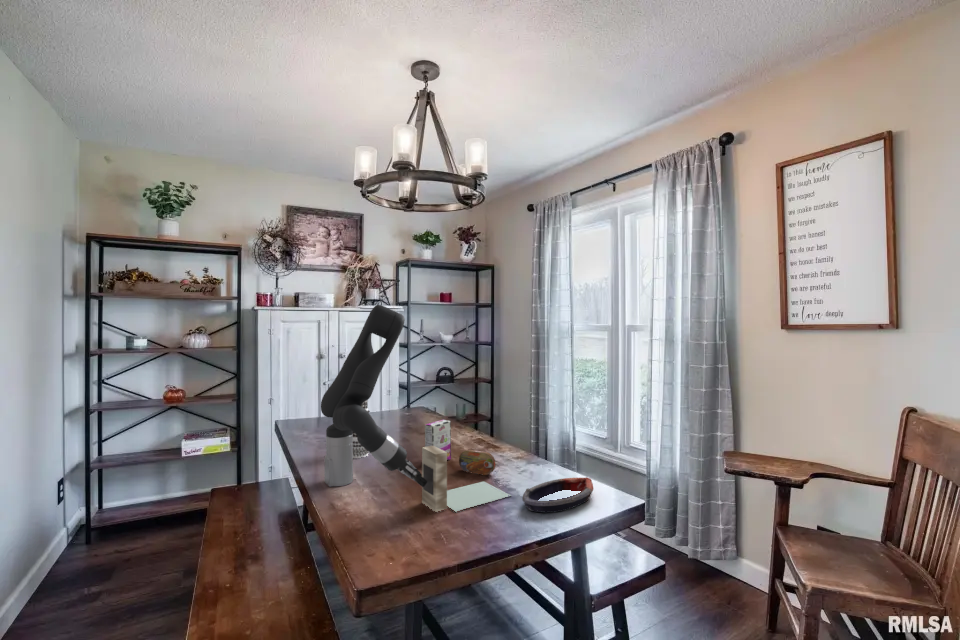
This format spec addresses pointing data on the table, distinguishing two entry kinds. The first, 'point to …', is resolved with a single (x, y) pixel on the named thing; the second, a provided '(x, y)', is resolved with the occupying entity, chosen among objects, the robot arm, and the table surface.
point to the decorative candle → (357, 447)
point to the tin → (477, 462)
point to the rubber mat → (473, 495)
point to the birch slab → (434, 478)
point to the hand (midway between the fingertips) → (424, 483)
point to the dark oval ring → (554, 486)
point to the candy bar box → (439, 436)
